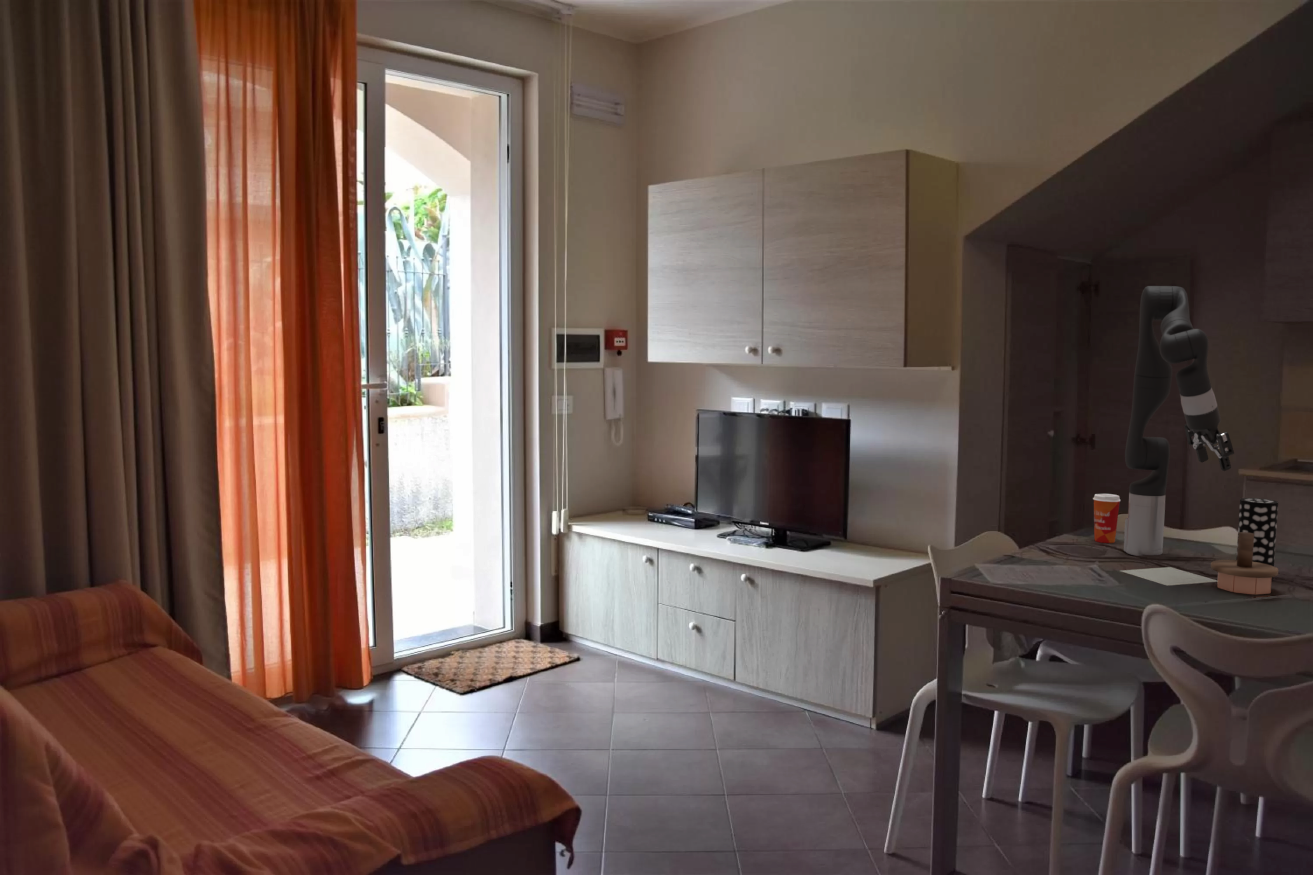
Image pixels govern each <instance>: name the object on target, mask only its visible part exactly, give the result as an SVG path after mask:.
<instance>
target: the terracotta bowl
mask: <svg viewBox="0 0 1313 875" xmlns="http://www.w3.org/2000/svg"><path fill="white" fill-rule="evenodd" d="M1272 581H1273V580H1272V577H1271V578H1251V577H1241V576H1234V575H1228V574H1224V573H1220V572H1217V584H1216V585H1217V586H1216V587H1217V588H1218V589H1221V590H1224V591H1228V592H1231V593H1237V594H1245V595H1246V594H1247V595H1255V596H1253V598H1256V599H1257V598H1267V597H1271V595H1266V594H1271V592H1272ZM1264 594H1265V595H1264Z"/></svg>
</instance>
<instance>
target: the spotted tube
mask: <svg viewBox="0 0 1313 875" xmlns="http://www.w3.org/2000/svg"><path fill="white" fill-rule="evenodd" d="M1278 512H1279V501H1277V500H1273V499H1269V498H1268V499H1266V498H1257V497H1254V498H1253V497H1244V498H1240V499H1239V514H1238V529H1237V538H1238V537H1239V532H1248V533H1253V534H1254V545H1253V560H1252V562H1258V563H1263V564H1268V565H1271V566H1274V567H1275V559H1276V558H1275V557H1276V542H1277V529H1278V527H1277V526H1278V525H1277V524H1278V514H1279V513H1278ZM1237 553H1238V540H1237V542H1236V554H1237ZM1235 557H1236V558H1235V560H1237V555H1236V556H1235ZM1271 581H1274V577H1272V580H1271Z"/></svg>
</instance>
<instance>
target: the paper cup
mask: <svg viewBox="0 0 1313 875" xmlns="http://www.w3.org/2000/svg"><path fill="white" fill-rule="evenodd" d="M1120 498H1121V497H1120V495H1117V494H1112V493H1095V494H1094V496H1093V497H1092V500H1093V529H1094V530H1093V533H1094V541H1095V542H1096V543H1101V544H1114V543H1115V542H1116V535H1117V528H1118V527H1117V526H1118V521H1119V510H1120V504H1121V503H1120V502H1121V499H1120Z"/></svg>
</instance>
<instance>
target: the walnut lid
mask: <svg viewBox="0 0 1313 875" xmlns="http://www.w3.org/2000/svg"><path fill="white" fill-rule="evenodd" d="M1237 541H1238V553H1237V552H1236V556H1237V560H1236V559H1216V560H1213V561H1211V563H1210V569H1211V570H1212V571H1214V572H1217V573H1218V572H1220V573H1224V574H1228V575H1234V576H1241V577H1251V578H1271V577H1273V578H1275V577H1277V576H1279V568H1278V567H1276V566H1275V565H1274V566H1271V565H1268V564H1263V563H1258V562H1252V560H1253V545H1254V534H1253V533H1248V532H1239V537H1238V536H1237Z"/></svg>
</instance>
